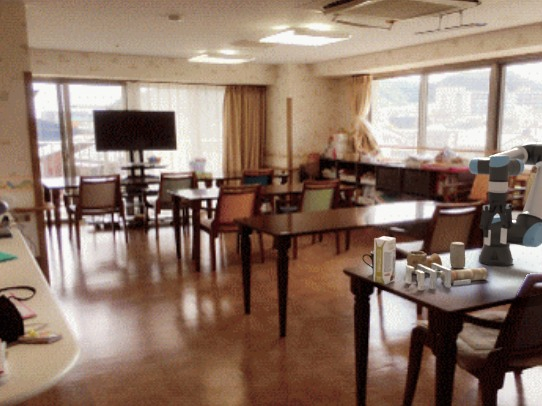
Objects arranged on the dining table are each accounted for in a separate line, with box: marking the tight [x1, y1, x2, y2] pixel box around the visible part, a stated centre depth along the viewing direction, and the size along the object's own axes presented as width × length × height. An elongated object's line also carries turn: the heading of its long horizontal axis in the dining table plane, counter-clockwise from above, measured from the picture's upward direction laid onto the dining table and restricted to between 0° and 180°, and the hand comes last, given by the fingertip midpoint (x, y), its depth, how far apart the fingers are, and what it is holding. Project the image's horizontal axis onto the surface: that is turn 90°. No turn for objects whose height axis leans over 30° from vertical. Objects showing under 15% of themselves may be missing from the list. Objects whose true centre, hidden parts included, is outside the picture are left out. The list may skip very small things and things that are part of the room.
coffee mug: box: [362, 250, 374, 275], centre depth 223 cm, size 12×9×10 cm
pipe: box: [406, 250, 443, 275], centre depth 222 cm, size 9×16×10 cm, turn 108°
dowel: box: [440, 267, 489, 284], centre depth 210 cm, size 20×5×5 cm, turn 106°
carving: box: [449, 241, 466, 269], centre depth 230 cm, size 6×8×12 cm
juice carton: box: [373, 235, 397, 285], centre depth 210 cm, size 8×9×19 cm
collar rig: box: [404, 263, 472, 291], centre depth 206 cm, size 25×12×7 cm, turn 106°
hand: (495, 243), depth 212 cm, fingers open, 8 cm apart
